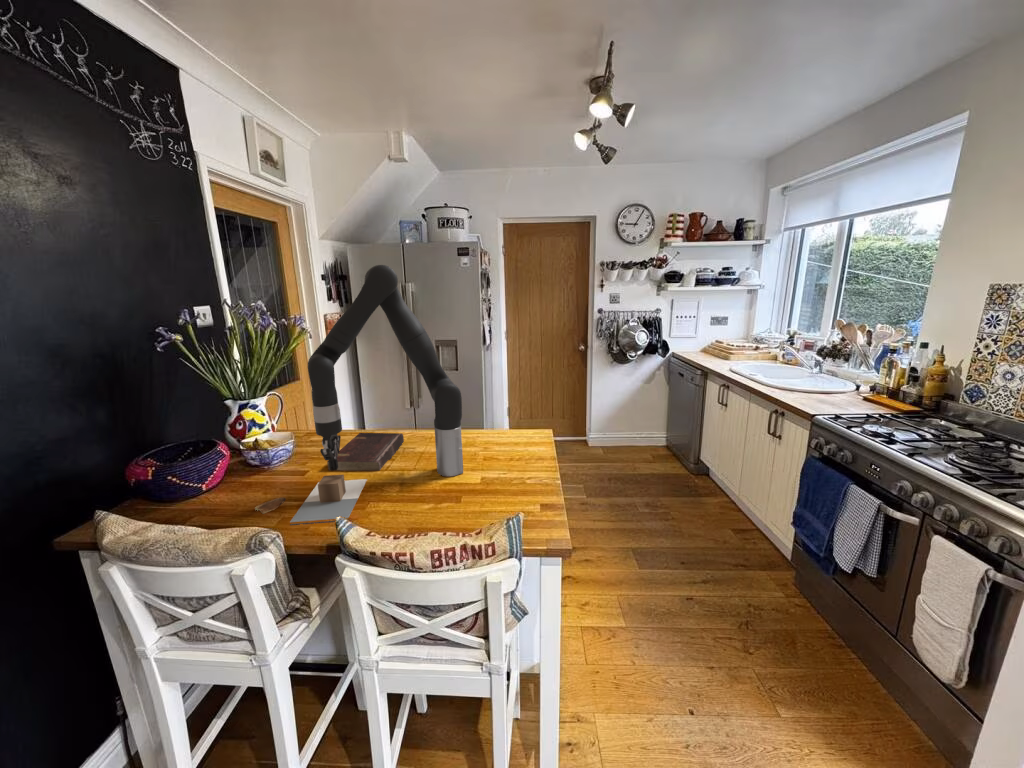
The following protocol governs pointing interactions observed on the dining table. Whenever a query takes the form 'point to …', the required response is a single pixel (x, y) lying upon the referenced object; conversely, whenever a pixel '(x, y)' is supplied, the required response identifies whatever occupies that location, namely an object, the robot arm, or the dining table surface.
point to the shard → (270, 505)
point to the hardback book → (368, 451)
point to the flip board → (329, 504)
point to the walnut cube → (331, 488)
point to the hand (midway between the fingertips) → (334, 469)
